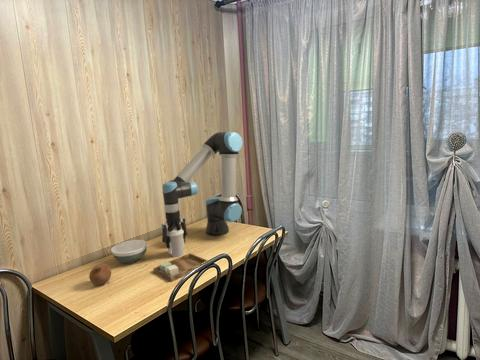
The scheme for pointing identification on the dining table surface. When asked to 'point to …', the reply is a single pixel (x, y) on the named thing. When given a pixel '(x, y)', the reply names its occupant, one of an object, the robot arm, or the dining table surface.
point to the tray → (181, 266)
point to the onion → (100, 274)
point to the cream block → (172, 270)
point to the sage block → (165, 266)
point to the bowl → (129, 251)
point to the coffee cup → (176, 242)
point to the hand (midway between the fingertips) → (176, 251)
